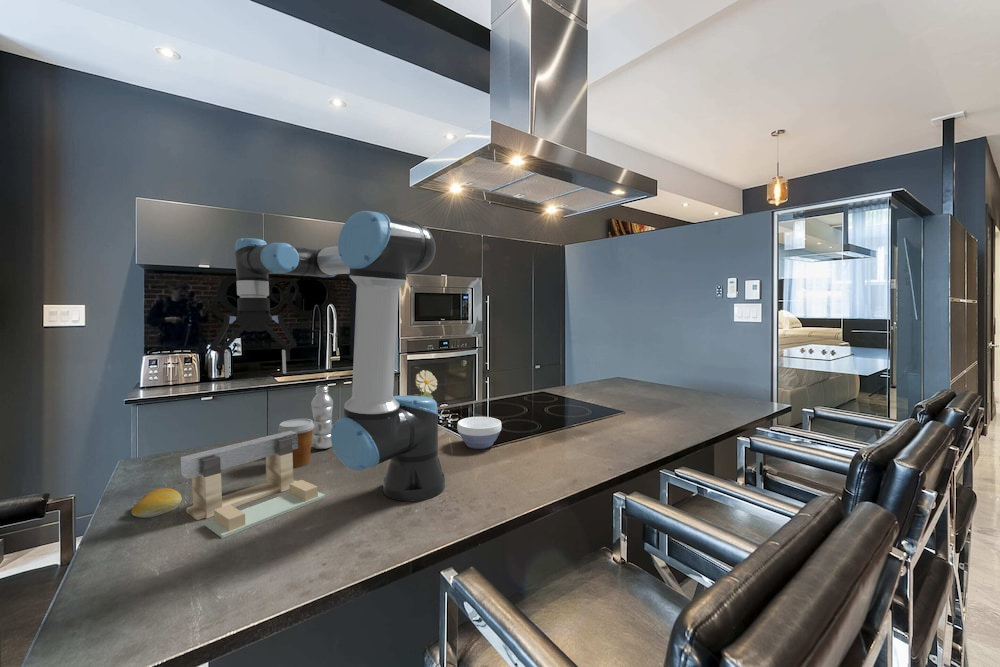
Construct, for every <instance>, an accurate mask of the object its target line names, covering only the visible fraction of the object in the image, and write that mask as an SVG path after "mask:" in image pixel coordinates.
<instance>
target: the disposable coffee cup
mask: <svg viewBox="0 0 1000 667" xmlns="http://www.w3.org/2000/svg"><path fill="white" fill-rule="evenodd" d="M277 431H278V433H282V432H287V431H293V432H296V433H298V448H297V449H294V450H292V452H293V468H298V467H303V466H305V465H308V464H309V463H310V459H311V458H310V457H311V450H312V438H313V431H314V420H312V419H310V418H295V419H289V420H285V421H282V422H280V423H279V426H278V428H277Z"/></svg>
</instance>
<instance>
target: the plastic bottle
mask: <svg viewBox="0 0 1000 667" xmlns="http://www.w3.org/2000/svg"><path fill="white" fill-rule="evenodd" d="M315 393H316V394H315V396H314V397H313V399H312V400H311V403H310V406H311V412H312V417H313V418H312V419H313V420H312V421H313V424H314V428H313V432H312V441H311V444H312V446H313V448H314V449H315V450H324V449H325V450H326V449H330V448H331V447H332V443H331V429H332V426H333V420H332V419H333V408H334V400H333V398H332V397H331V395H329V385H326V384H323V385H317V386H315ZM332 448H333V447H332Z"/></svg>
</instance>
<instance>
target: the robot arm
mask: <svg viewBox="0 0 1000 667" xmlns="http://www.w3.org/2000/svg"><path fill="white" fill-rule="evenodd" d="M337 240H338V241H337V245H335V246H329V247H323V248H306V247H300V246H293V245H291V244H289V243H287V242H272V243H267V241H265V240H264V239H259V238H250V237H247V238H245V237H244V238H243V237H242V238H238V239H237V240H236V241H235V244H234V245H235V251H234V257H235V258H234V259H235V260H234V261H235V273H236V276H235V277H236V295H237V296H239V297H238V298H237V300H236V301H237V315H236V316H234V315H229V314H227V315H224V317H223V324H222V326H221V328H220V330H219V331H218V333H217V335H216V337H215V339H214V341H213V343H212V344H211V346H210V349H209V350H210V351H212V352H216V353H218V359H219V360H218V361H219V365H220V366H224V378H225V379H227V378H229V377H230V365H229V364H230V362H229V361H230V360H229V359H230V358H229V352H228V351H227V352H226V350H228V348H229V347H230V346H231V345H232V344H233V343H234V341H235V340H236V339H237V338H238V337H240V335H241V334H242V333H243V332H244V331H246V332H249V333H250V332H263V331H264V330H265V331H266V332H267V334H269V335H270V336H272V338H274V340H275V341H276V342H278V344H280V345H281V347H283V348H284V349H282V350H281V359H282V361H281V362H282V363H281V364H282V373H283V374H285V375H286V374H287V363H286V362H290V360H291V350H292V349H293V348H296V347H297V346H298V344H297V342H296V340H295V339H294V338H293V335H292V334H291V332H290V331H289V329H288V327H287V326H286V324H285V323H284V322H285V321H284V317H283V315H282V314H278V315H271V308H270V306H271V305H270V298H268V297H269V296H270V286H269V284H270V283H269V275H270V274H271V275H272V274H275V275H276V274H278V275H291V276H292V275H293V276H306V277H307V276H310V277H318V278H319V277H320V278H334V277H336V276H337V275H342V274H343V275H344V274H349V278H350V279H351V281H353V283H354V284H355V285H356V286H355V287H356V294H355V295H356V297H355V298H356V301H355V318H354V320H355V321H354V339H353V340H354V343H353V344H354V345H353V364H352V365H353V368H352V388H351V390H352V391H351V397H350V398H349V399H348V400H347V401H346V402H345V403H344V404H343V417H340V418H338V419H337V420H336V421H335V422H334V424H332V429H331V443H332V449H333V451H334V453H335V455H336V457H337V459H338V460H339V461H340V462H341V464H343V466H345V467H346V468H348V469H350V470H352V471H363V470H367V469H368V468H375V467H377V465H379V464H382V463H385V462H387V461H389V462H388V467H387V471H386V475H385V477H384V479H383V482H382V483H383V484H382V485H383V487H382V488H383V489H382V490H383V491H382V492H383V493H384V495H385V496H386V497H387V498H390V499H392V500H394V501H395V500H396V501H399V502H400V501H402V502H416V501H423V500H427V499H431V498H433V497H435V496H438V495H439V494H441V493H442V492H443V491H444V490H445V488H446V476H445V474H444V472H443V468H442V464H441V462H440V460H439V459H440V458H439V448H438V445H439V443H438V442H439V441H438V440H439V434H438V433H439V424H438V423H439V419H438V418H439V412H438V402H437V401H436V400H435V399H434V398H429V397H422V395H421V396H420V395H394V387H395V386H394V385H395V368H396V367H395V366H396V350H397V349H396V348H397V347H396V346H397V345H396V344H397V331H398V311H399V294H400V293H399V292H400V291H399V290H400V288H401V287H402V286H403V285H404V284H406V283H407V280H408V279H407V276H408V274H415V273H419V272H423V271H424V270H425V269H427V268H428V267H430V265H432V262H433V261H434V258H435V257H436V256H435V255H436V251H437V250H436V248H437V247H436V242H435V241H436V240H435V239H434V237H433V234H432V233H431V232H430V230H429V229H428V228H427V227H425V226H424V225H422V224H421V223H420V222H416V221H414V220H409V219H404V218H401V217H397V216H394V215H390V214H388V213H384V212H378V211H370V210H360V211H358V212H355V213H354V214H352V215H351V216H349V218H348V219H347V221H345V222H344V224H342V227H341V229H340V232H339V235H338V239H337ZM235 321H236V322H237V323H238V324H239V326H240V327H239V328H238V329H236V331H235V332H234V333H233V334H232V335H231V336H230V337H229V339H228V340H226V342H225V343H224V344H223V345H222V346H221V347H220V346H219V345H220V343H221V342H222V340H223V337H224V336H225V334H226V332H227V330H228V328H229V326H230V325H232V324H233V323H234V322H235ZM272 321H274V322H275V323H277V324H278V325H279V326H280V329H281V330H282V332H283V333H284V335H285V336H286V339H287V340H288V341H289V343H286V341H285V340H284V339H283V338H282V337H281V336H279V335H278V333H276V331H274V329H272V328H271V327H270V326H269V325H270V324H271V323H272Z"/></svg>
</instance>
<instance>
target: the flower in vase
mask: <svg viewBox="0 0 1000 667" xmlns="http://www.w3.org/2000/svg"><path fill="white" fill-rule="evenodd" d="M414 380H415V386H416V387H417V389H418V390H419V392H420V395H419V396H422V397H429V398H432V399H434V396H433V395H432V393H433V392H435V391H436V390H437V388H438V387H437V386H438V385H439V384H438V380H437V378H436V376H435V375H433V373H432V372H431V371H429V370H424V369H423V370H421V371H419V373H417V374H416V376H415V379H414Z"/></svg>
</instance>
